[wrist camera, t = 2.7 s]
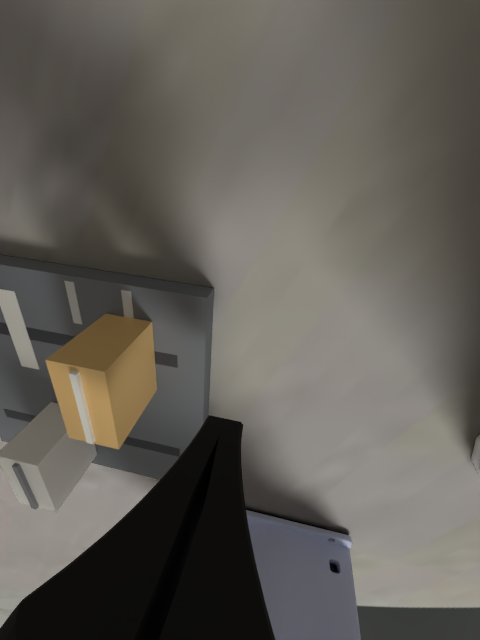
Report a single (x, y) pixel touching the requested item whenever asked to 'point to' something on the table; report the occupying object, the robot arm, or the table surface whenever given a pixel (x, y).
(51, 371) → the amber fader knob
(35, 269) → the mixing board
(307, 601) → the robot arm
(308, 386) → the table surface
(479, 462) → the decorative candle
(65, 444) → the cream fader knob
